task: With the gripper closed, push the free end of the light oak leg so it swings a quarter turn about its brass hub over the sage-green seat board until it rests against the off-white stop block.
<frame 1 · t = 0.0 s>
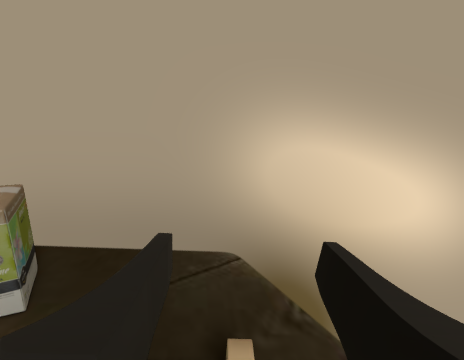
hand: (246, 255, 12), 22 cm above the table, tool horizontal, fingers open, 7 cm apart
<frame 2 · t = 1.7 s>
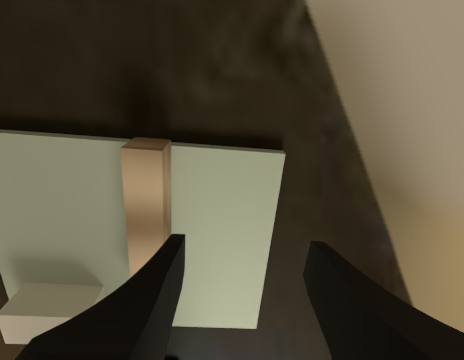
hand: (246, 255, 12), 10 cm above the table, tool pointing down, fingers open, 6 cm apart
leg: (150, 235, 21), point 3 cm above the table, hinge at 0.0°
stop block: (73, 289, 26), resting on seat board
seat board: (137, 240, 24), on the table
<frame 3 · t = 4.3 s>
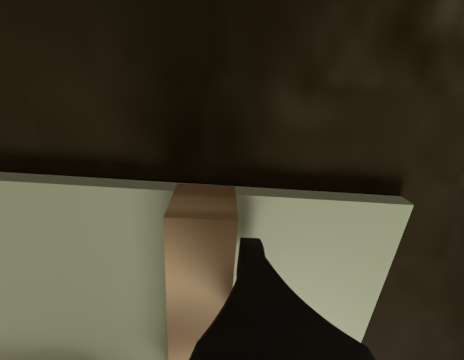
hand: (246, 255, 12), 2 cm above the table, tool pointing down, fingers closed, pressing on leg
leg: (199, 332, 13), point 3 cm above the table, hinge at 0.7°, touching gripper
seat board: (171, 320, 17), on the table
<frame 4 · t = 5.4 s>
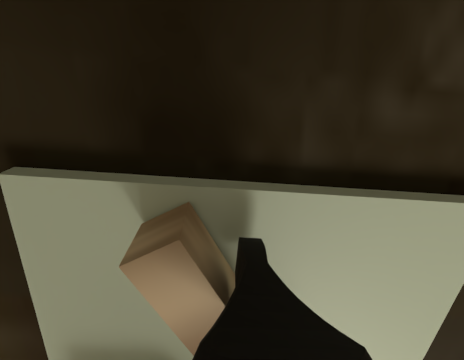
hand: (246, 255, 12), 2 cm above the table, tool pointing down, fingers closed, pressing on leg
leg: (235, 340, 13), point 3 cm above the table, hinge at 31.0°, touching gripper
seat board: (244, 318, 17), on the table
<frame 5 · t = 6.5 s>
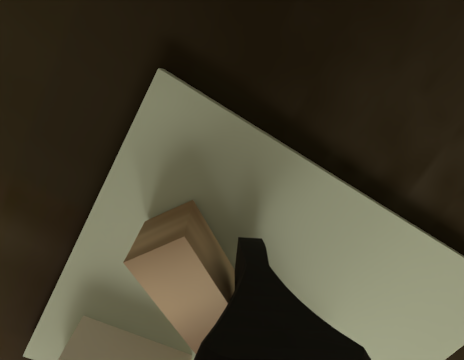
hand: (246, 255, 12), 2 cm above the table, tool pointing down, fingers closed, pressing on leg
leg: (236, 338, 14), point 3 cm above the table, hinge at 56.7°, touching gripper
stop block: (134, 337, 17), resting on seat board
seat board: (268, 312, 17), on the table
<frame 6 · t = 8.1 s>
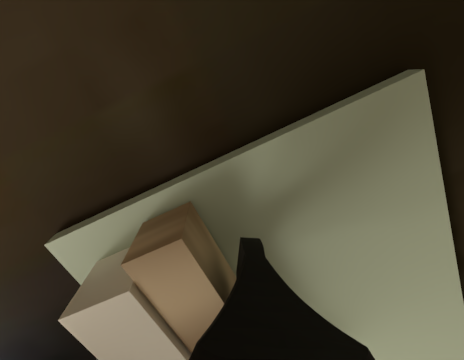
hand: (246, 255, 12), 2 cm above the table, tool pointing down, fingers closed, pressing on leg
leg: (234, 339, 14), point 3 cm above the table, hinge at 90.1°, touching gripper
stop block: (163, 282, 16), resting on seat board
seat board: (297, 318, 17), on the table
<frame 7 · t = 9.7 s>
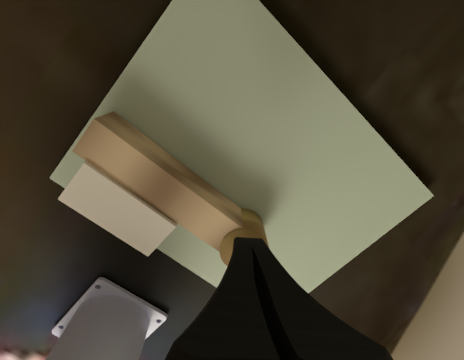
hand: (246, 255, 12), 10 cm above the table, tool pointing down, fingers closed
leg: (185, 196, 19), point 3 cm above the table, hinge at 90.9°
stop block: (138, 186, 22), resting on seat board
seat board: (247, 182, 22), on the table
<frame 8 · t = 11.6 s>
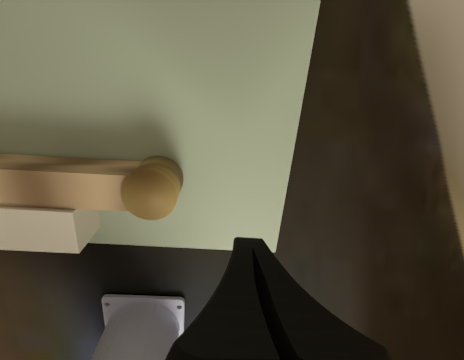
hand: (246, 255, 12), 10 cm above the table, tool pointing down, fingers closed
leg: (73, 182, 18), point 3 cm above the table, hinge at 90.9°
stop block: (60, 200, 22), resting on seat board
seat board: (136, 134, 20), on the table
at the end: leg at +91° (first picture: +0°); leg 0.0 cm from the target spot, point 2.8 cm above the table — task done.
